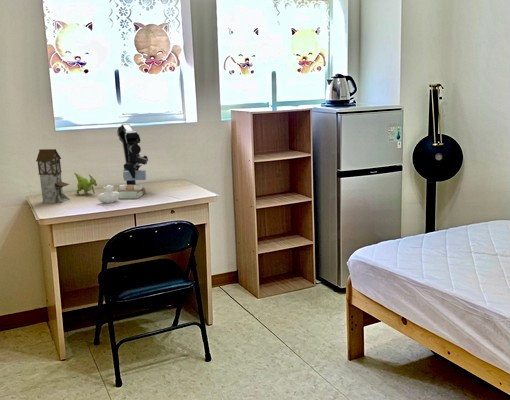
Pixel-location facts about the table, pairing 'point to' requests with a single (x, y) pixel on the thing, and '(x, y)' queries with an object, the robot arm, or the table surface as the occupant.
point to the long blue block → (138, 175)
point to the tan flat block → (133, 191)
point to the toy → (85, 184)
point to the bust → (108, 195)
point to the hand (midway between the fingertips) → (135, 177)
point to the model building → (51, 176)
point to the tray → (129, 195)
